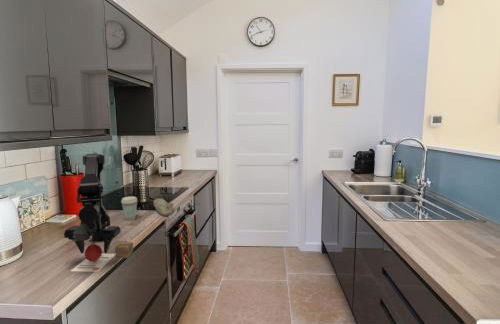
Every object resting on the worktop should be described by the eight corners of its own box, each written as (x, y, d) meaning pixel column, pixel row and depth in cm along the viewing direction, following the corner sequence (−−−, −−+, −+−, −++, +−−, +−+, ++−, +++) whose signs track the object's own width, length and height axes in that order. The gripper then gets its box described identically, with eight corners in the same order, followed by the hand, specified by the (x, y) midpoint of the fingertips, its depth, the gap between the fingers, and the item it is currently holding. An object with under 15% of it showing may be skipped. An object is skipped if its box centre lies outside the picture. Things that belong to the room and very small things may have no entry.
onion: (87, 267, 103) (83, 247, 102) (85, 261, 108) (82, 242, 107) (104, 262, 107) (101, 242, 105) (101, 256, 111) (99, 237, 110)
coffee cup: (120, 221, 153) (119, 200, 151) (124, 216, 161) (123, 196, 160) (136, 220, 155) (135, 199, 153) (139, 215, 163) (138, 195, 161)
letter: (92, 254, 114) (92, 253, 114) (116, 254, 114) (116, 253, 114) (70, 272, 100) (70, 271, 100) (98, 272, 101) (97, 271, 100)
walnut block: (121, 253, 116) (120, 241, 115) (133, 253, 116) (133, 242, 115) (115, 259, 111) (115, 247, 110) (128, 259, 111) (127, 247, 110)
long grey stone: (165, 203, 195) (150, 205, 191) (164, 195, 195) (150, 198, 190) (177, 214, 164) (160, 218, 160) (176, 206, 164) (159, 209, 159)
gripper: (51, 221, 97) (55, 263, 99) (105, 221, 97) (107, 263, 99) (72, 211, 108) (74, 249, 110) (120, 211, 108) (122, 249, 110)
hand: (94, 253), depth 107 cm, fingers open, 9 cm apart
